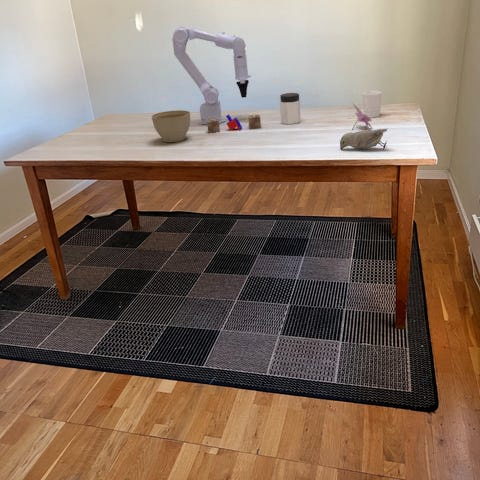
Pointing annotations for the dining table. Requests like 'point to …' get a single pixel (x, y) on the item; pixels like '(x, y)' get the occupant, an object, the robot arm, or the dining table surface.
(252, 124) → the walnut cube one
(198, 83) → the robot arm
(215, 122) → the walnut cube seven
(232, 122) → the toy building block
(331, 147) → the dining table surface
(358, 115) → the lily
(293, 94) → the jar
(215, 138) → the dining table surface
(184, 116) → the planter bowl
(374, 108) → the white cup
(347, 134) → the decorative bird
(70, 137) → the dining table surface
